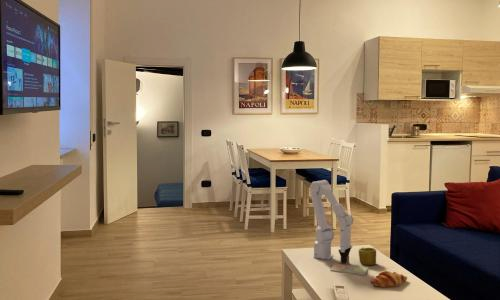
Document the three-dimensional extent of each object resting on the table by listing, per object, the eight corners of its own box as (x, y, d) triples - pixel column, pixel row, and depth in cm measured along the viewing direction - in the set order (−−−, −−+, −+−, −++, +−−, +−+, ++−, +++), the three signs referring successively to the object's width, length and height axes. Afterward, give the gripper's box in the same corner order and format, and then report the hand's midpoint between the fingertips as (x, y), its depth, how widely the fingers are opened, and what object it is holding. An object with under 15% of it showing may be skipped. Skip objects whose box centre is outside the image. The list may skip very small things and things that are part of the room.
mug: (381, 263, 250) (375, 245, 252) (363, 269, 251) (357, 251, 252) (377, 260, 263) (371, 243, 264) (360, 265, 263) (354, 248, 264)
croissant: (402, 285, 234) (397, 269, 237) (415, 283, 225) (410, 266, 228) (367, 291, 226) (363, 274, 229) (379, 288, 217) (375, 271, 220)
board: (330, 270, 245) (330, 269, 245) (334, 264, 255) (334, 262, 255) (365, 275, 238) (365, 273, 238) (368, 268, 249) (368, 267, 248)
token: (340, 264, 255) (340, 257, 254) (341, 262, 258) (342, 255, 258) (347, 265, 253) (347, 258, 253) (349, 263, 257) (349, 256, 257)
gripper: (350, 241, 246) (349, 266, 247) (355, 234, 260) (354, 258, 261) (337, 240, 249) (336, 264, 250) (342, 233, 262) (341, 256, 264)
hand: (344, 261), depth 256 cm, fingers closed on token, 4 cm apart
